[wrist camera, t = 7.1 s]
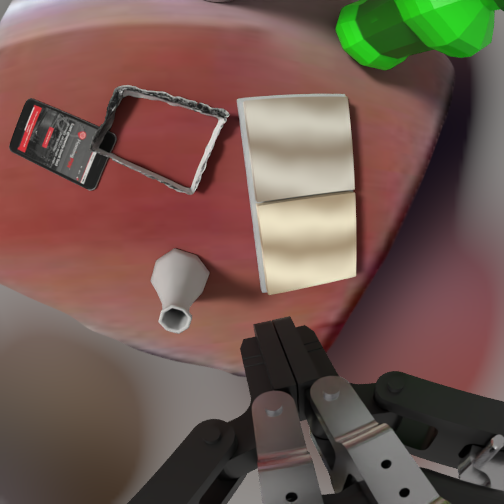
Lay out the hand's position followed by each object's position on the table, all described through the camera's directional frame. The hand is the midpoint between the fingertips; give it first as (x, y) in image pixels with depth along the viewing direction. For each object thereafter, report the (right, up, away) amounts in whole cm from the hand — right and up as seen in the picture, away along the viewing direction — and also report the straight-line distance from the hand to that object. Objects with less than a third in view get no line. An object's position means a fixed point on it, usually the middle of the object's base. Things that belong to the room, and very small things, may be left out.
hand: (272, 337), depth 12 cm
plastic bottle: (+13, +31, +17) cm, 38 cm away
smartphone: (-24, +17, +16) cm, 34 cm away
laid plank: (+5, +16, +20) cm, 26 cm away
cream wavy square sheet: (+6, +5, +25) cm, 26 cm away
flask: (-10, +1, +25) cm, 27 cm away
